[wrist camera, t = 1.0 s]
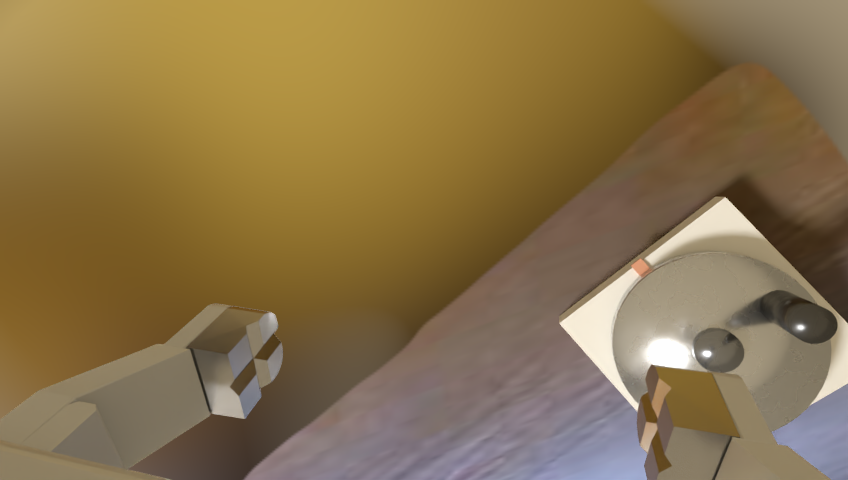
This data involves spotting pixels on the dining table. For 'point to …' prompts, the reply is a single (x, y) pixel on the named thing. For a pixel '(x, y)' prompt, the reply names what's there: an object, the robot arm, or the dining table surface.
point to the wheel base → (699, 232)
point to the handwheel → (726, 329)
